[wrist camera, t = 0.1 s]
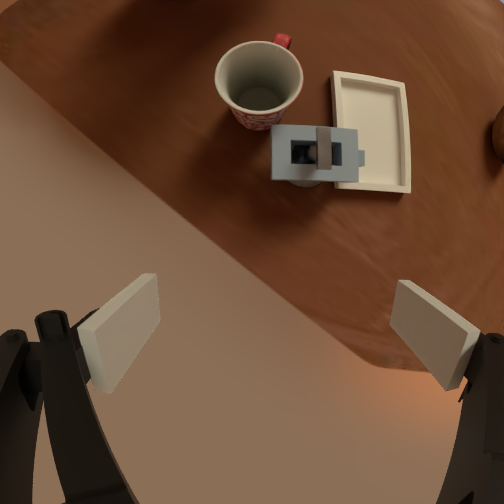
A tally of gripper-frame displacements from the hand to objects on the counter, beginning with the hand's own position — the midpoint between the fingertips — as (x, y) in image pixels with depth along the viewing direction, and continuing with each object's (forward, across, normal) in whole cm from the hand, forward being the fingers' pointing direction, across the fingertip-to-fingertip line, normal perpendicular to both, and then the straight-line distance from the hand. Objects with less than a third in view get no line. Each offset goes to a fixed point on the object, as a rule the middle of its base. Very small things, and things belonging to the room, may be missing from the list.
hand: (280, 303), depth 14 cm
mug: (+28, -1, +19) cm, 34 cm away
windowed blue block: (+23, +5, +10) cm, 26 cm away
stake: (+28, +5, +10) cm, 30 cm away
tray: (+28, +16, +16) cm, 35 cm away
